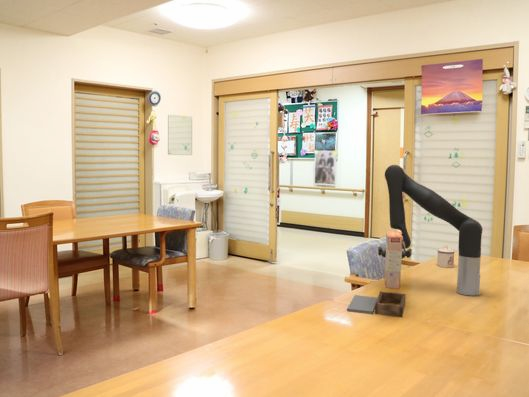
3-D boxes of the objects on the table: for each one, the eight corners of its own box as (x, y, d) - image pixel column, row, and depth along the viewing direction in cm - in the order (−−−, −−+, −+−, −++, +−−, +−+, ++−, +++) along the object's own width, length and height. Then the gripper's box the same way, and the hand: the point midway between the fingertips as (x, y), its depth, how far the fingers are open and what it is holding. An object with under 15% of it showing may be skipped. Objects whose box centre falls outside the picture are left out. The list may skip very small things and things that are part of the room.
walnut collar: (405, 303, 204) (405, 294, 204) (402, 317, 187) (402, 306, 186) (379, 300, 208) (380, 291, 207) (374, 313, 190) (375, 303, 190)
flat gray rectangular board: (378, 299, 209) (378, 297, 208) (372, 314, 190) (372, 311, 190) (354, 297, 212) (354, 294, 212) (347, 311, 193) (347, 308, 193)
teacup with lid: (450, 268, 268) (451, 248, 267) (434, 266, 274) (435, 245, 273) (458, 265, 277) (459, 245, 276) (442, 262, 283) (443, 243, 282)
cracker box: (401, 289, 189) (403, 236, 187) (385, 288, 190) (387, 236, 188) (398, 280, 202) (401, 230, 200) (384, 279, 204) (385, 230, 202)
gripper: (379, 238, 214) (375, 245, 198) (413, 240, 209) (411, 247, 193) (378, 255, 215) (374, 263, 199) (412, 257, 210) (411, 266, 194)
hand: (392, 255), depth 196 cm, fingers closed on cracker box, 6 cm apart
